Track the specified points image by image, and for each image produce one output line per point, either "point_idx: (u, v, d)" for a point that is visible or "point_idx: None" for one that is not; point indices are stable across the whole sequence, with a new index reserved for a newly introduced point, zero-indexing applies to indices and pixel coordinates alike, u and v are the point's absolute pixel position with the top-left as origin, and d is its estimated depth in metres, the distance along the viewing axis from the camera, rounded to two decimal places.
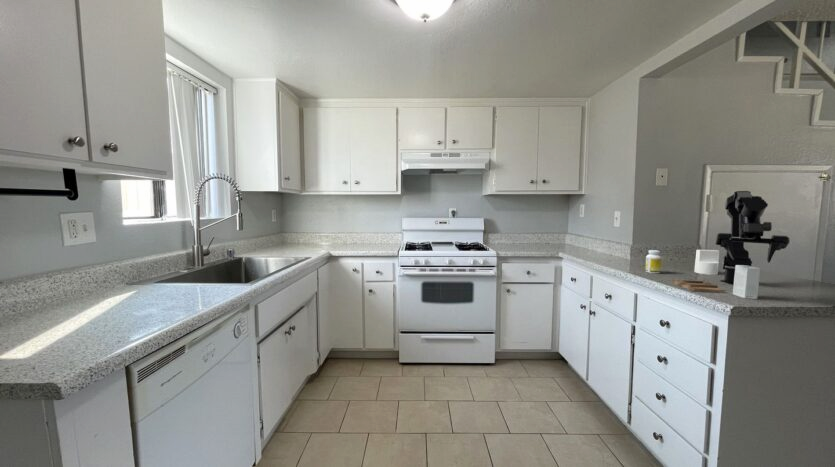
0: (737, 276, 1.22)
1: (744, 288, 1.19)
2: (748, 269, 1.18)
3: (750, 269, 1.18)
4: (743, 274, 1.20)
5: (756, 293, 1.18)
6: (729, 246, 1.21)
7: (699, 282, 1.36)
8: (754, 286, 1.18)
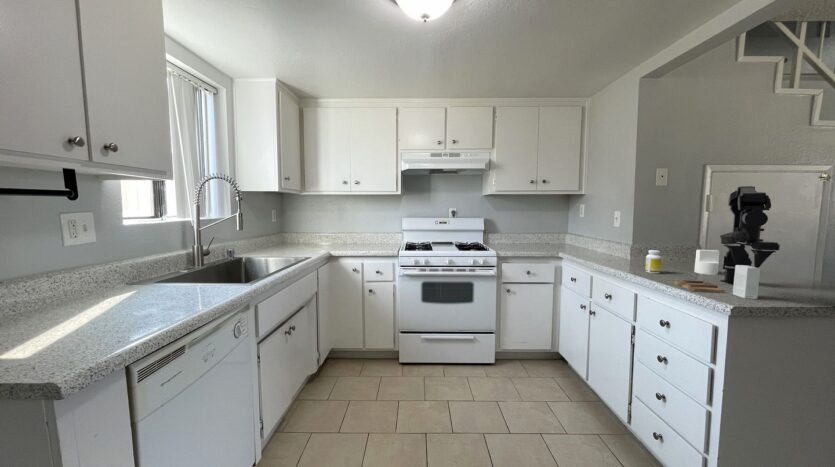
0: (737, 276, 1.22)
1: (744, 288, 1.19)
2: (748, 269, 1.18)
3: (750, 269, 1.18)
4: (743, 274, 1.20)
5: (756, 293, 1.18)
6: (730, 251, 1.26)
7: (699, 282, 1.36)
8: (754, 286, 1.18)
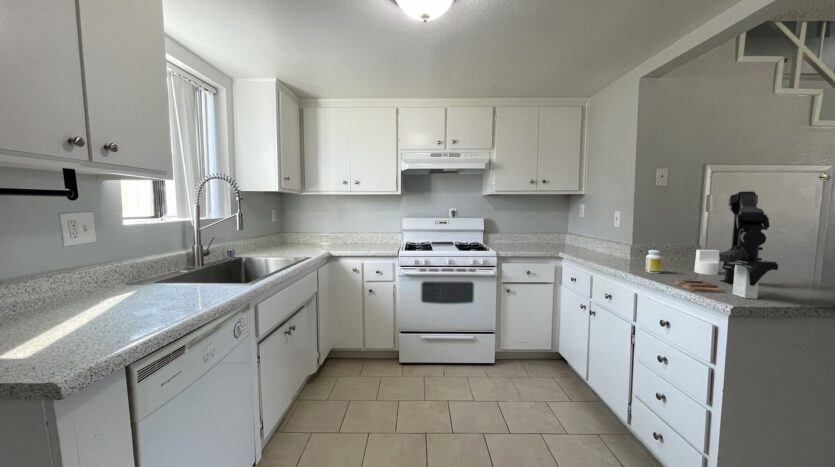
0: (737, 276, 1.22)
1: (744, 287, 1.19)
2: None
3: None
4: (742, 273, 1.20)
5: (756, 293, 1.18)
6: (732, 269, 1.25)
7: (699, 282, 1.36)
8: (754, 285, 1.18)
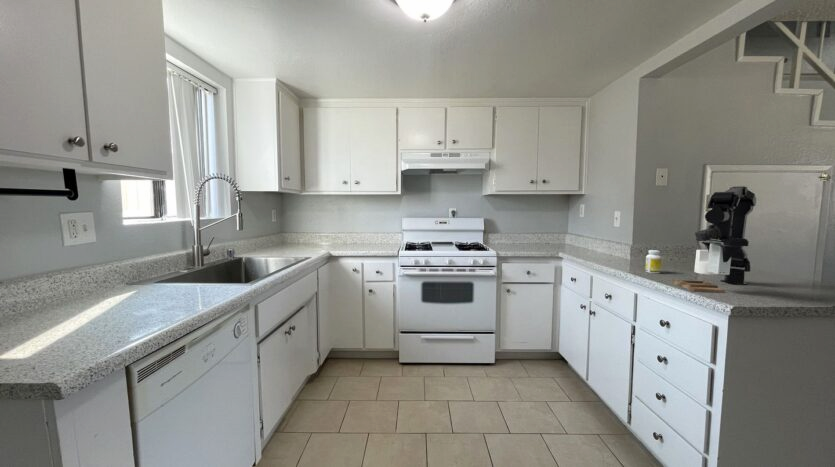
0: (711, 254, 1.29)
1: (718, 264, 1.25)
2: None
3: None
4: (716, 251, 1.26)
5: (728, 269, 1.25)
6: (707, 247, 1.32)
7: (699, 282, 1.36)
8: (727, 262, 1.24)
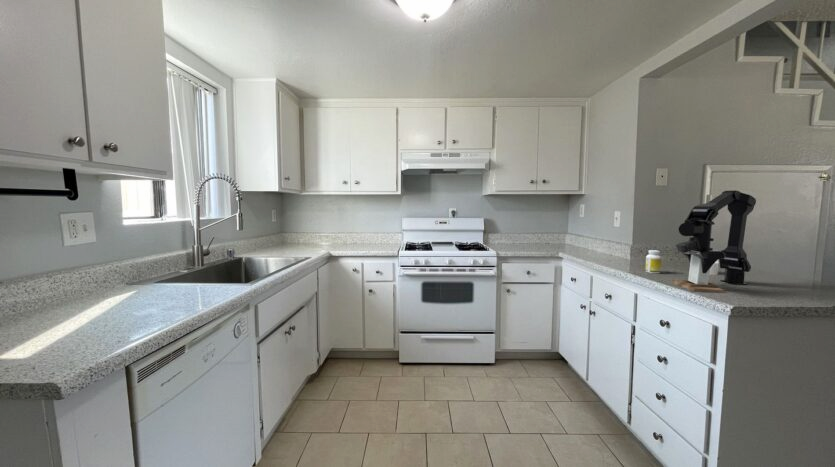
0: (692, 264, 1.35)
1: (697, 275, 1.31)
2: None
3: None
4: (696, 263, 1.32)
5: (707, 280, 1.31)
6: (689, 259, 1.37)
7: None
8: (705, 273, 1.30)
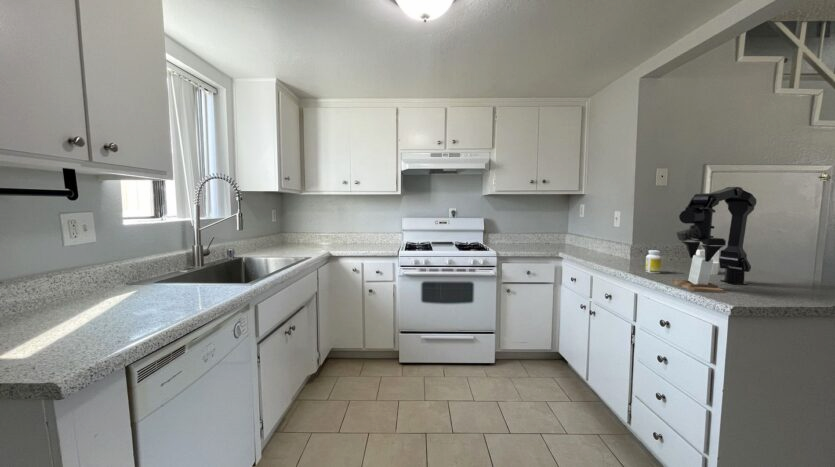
0: (693, 265, 1.34)
1: (697, 277, 1.31)
2: (702, 260, 1.29)
3: (704, 260, 1.29)
4: (698, 264, 1.31)
5: (707, 281, 1.30)
6: (687, 246, 1.38)
7: None
8: (706, 275, 1.30)
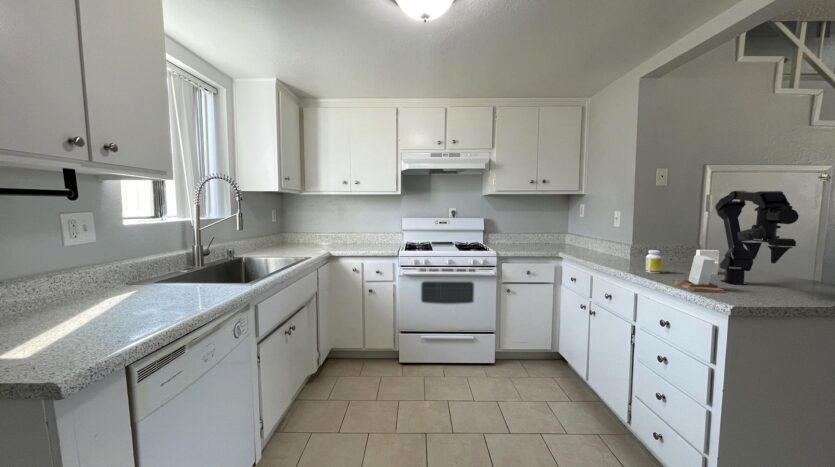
0: (694, 265, 1.34)
1: (699, 277, 1.31)
2: (704, 260, 1.29)
3: (706, 260, 1.29)
4: (699, 264, 1.31)
5: (708, 281, 1.30)
6: (747, 247, 1.31)
7: None
8: (707, 275, 1.30)
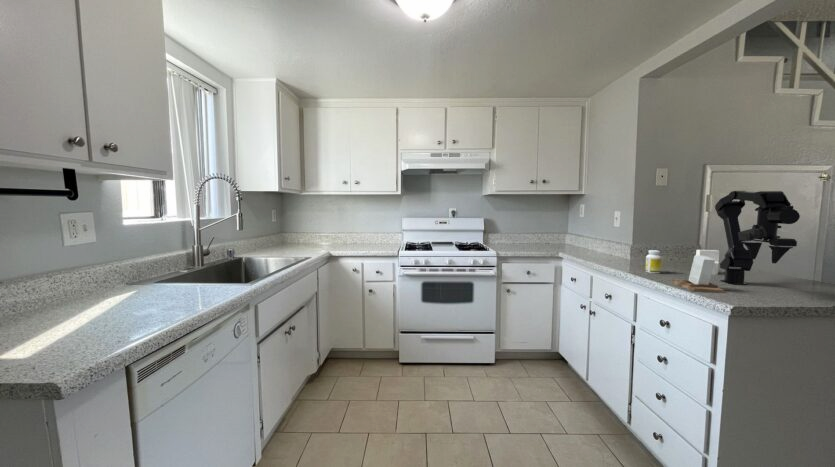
0: (694, 265, 1.34)
1: (699, 277, 1.31)
2: (704, 260, 1.29)
3: (706, 260, 1.29)
4: (699, 264, 1.31)
5: (708, 281, 1.30)
6: (747, 247, 1.31)
7: None
8: (707, 275, 1.30)
